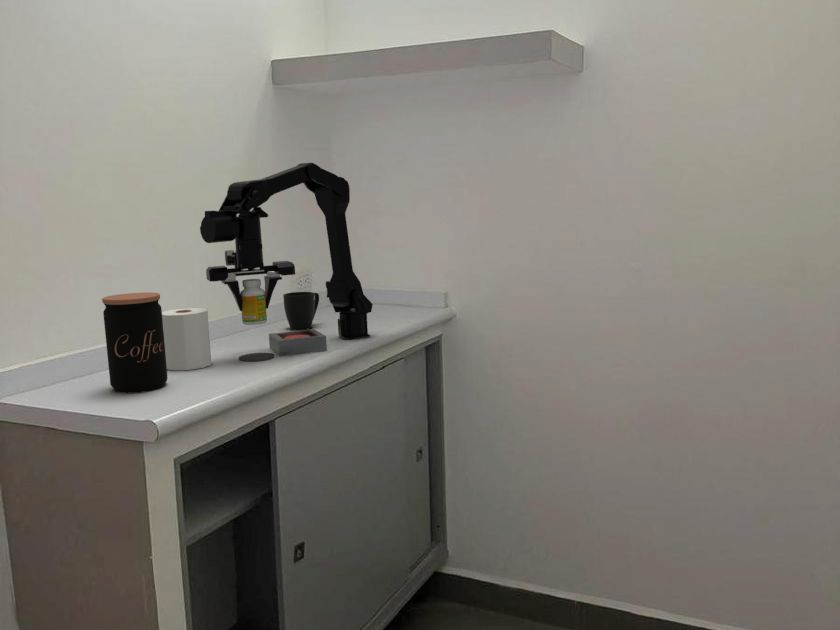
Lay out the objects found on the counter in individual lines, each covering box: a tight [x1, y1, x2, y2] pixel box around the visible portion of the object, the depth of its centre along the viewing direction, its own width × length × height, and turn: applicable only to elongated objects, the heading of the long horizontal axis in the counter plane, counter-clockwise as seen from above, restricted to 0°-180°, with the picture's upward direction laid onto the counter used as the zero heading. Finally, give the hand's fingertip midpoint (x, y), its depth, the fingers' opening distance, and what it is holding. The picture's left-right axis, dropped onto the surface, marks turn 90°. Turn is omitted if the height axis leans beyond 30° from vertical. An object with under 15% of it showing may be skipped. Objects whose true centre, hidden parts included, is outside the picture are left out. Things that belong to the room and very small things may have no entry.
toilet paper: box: [162, 307, 213, 371], centre depth 181 cm, size 10×10×12 cm
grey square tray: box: [268, 328, 328, 357], centre depth 195 cm, size 11×11×4 cm
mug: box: [282, 291, 320, 331], centre depth 226 cm, size 8×12×10 cm
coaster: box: [238, 352, 276, 363], centre depth 187 cm, size 8×8×1 cm
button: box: [284, 335, 310, 339], centre depth 195 cm, size 6×6×2 cm
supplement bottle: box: [240, 278, 268, 326], centre depth 185 cm, size 5×5×10 cm
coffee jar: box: [101, 292, 168, 394], centre depth 162 cm, size 11×11×18 cm
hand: (253, 309), depth 186 cm, fingers closed on supplement bottle, 5 cm apart
